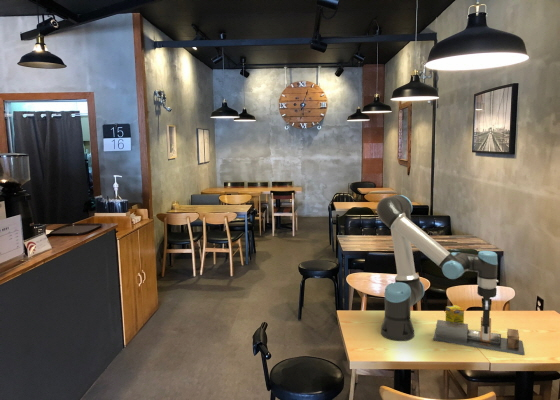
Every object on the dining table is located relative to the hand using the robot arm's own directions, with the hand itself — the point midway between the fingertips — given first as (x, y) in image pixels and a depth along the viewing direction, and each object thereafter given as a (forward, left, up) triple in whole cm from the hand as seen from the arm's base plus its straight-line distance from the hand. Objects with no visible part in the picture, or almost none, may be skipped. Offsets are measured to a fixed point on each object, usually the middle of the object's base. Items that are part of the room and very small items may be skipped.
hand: (485, 337), depth 186 cm
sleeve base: (-3, 0, -3) cm, 4 cm away
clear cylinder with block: (-4, 0, -1) cm, 4 cm away
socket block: (+11, 0, -1) cm, 11 cm away
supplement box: (-13, +10, -3) cm, 17 cm away
